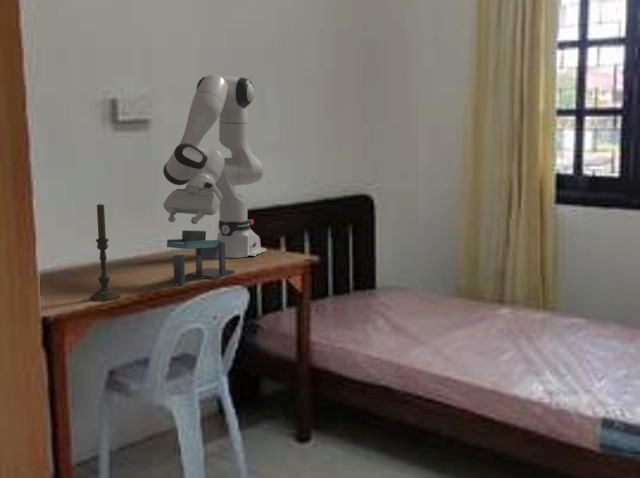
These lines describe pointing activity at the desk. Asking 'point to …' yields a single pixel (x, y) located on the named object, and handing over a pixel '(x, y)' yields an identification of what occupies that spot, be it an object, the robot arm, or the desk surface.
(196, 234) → the block
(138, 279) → the desk surface
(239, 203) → the robot arm
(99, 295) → the candlestick holder
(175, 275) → the beam stand
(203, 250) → the beam
